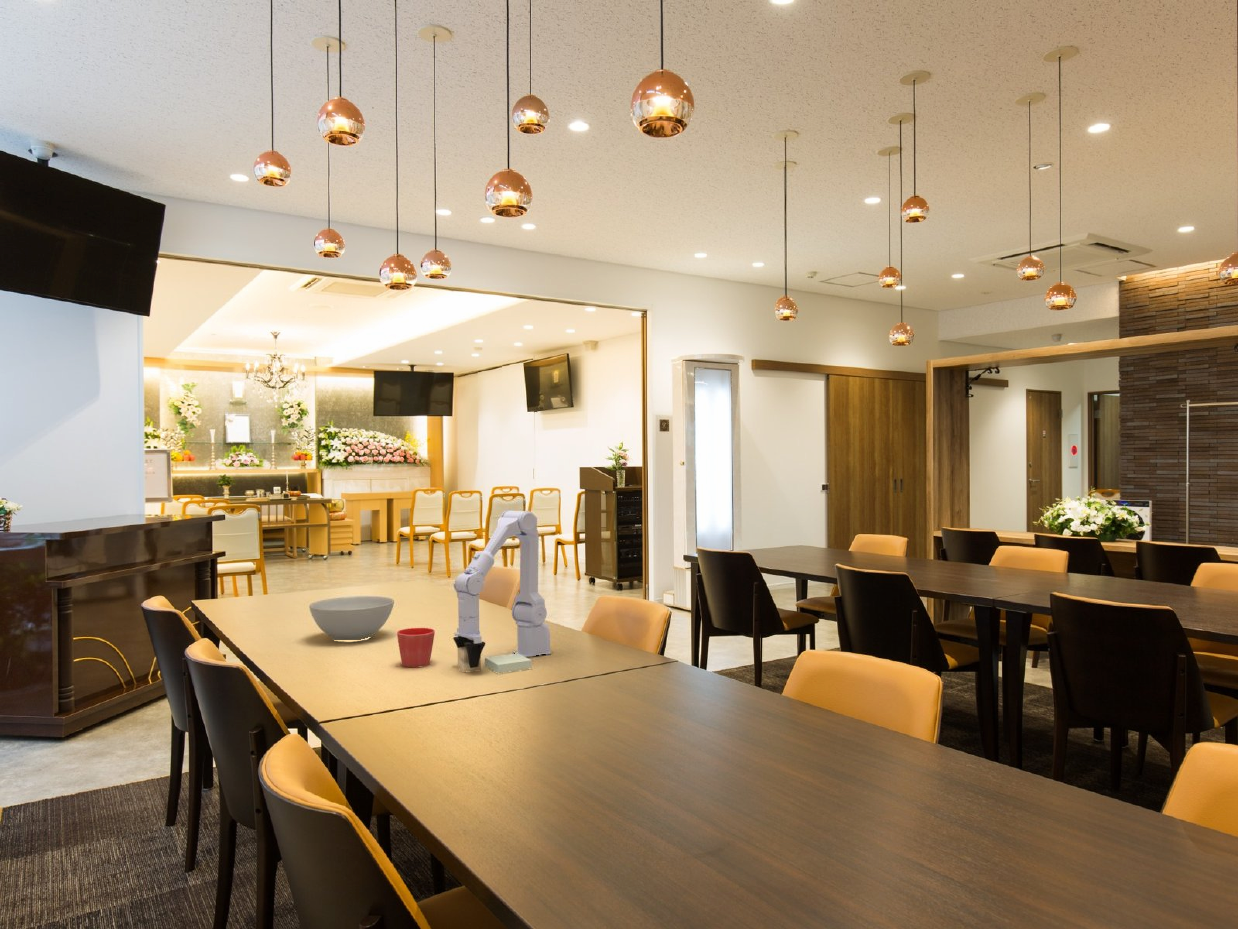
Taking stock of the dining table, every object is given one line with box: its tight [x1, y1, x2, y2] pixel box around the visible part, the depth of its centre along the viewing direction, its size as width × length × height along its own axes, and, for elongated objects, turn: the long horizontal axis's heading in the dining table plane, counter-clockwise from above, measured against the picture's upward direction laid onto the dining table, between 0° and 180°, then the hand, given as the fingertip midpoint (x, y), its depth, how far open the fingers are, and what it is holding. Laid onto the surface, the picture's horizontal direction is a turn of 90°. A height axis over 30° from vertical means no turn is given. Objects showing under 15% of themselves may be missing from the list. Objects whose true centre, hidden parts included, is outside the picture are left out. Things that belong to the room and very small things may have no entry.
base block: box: [484, 653, 532, 674], centre depth 230 cm, size 10×10×3 cm
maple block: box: [457, 647, 482, 673], centre depth 229 cm, size 5×5×6 cm
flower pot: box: [396, 627, 435, 668], centre depth 235 cm, size 11×11×10 cm
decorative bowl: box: [309, 595, 395, 640], centre depth 271 cm, size 27×27×12 cm
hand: (469, 664), depth 229 cm, fingers open, 7 cm apart
